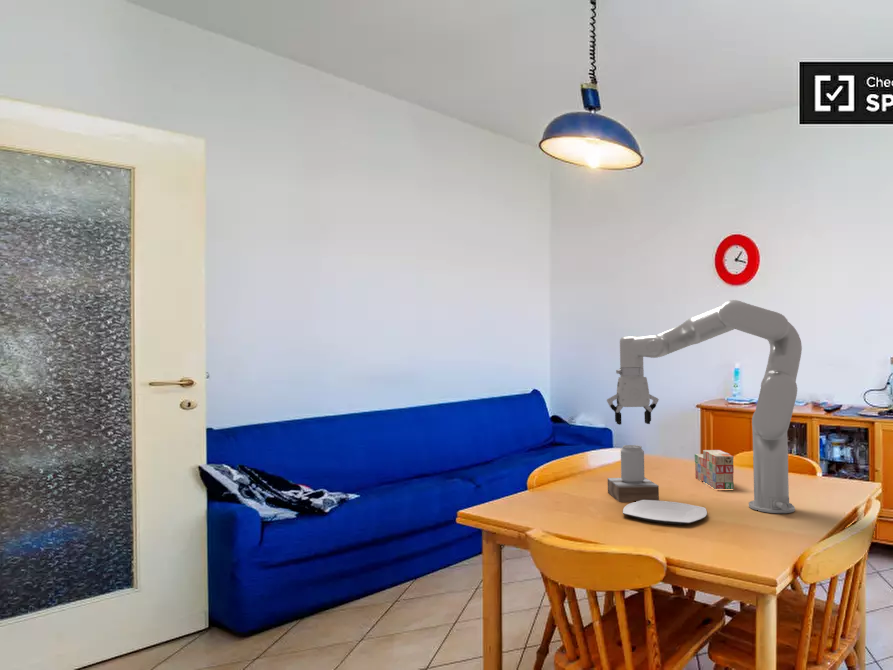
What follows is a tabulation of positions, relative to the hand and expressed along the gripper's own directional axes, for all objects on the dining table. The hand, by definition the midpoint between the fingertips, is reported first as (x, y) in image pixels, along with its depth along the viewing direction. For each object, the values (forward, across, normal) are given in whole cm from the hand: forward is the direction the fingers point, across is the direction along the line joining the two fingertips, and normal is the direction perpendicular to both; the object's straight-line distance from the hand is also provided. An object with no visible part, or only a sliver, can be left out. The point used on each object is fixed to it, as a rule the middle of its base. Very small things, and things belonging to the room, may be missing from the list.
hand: (633, 423), depth 211 cm
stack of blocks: (+25, +34, +16) cm, 45 cm away
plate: (+25, +1, -24) cm, 34 cm away
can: (+20, -1, 0) cm, 20 cm away
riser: (+24, -1, 0) cm, 24 cm away
